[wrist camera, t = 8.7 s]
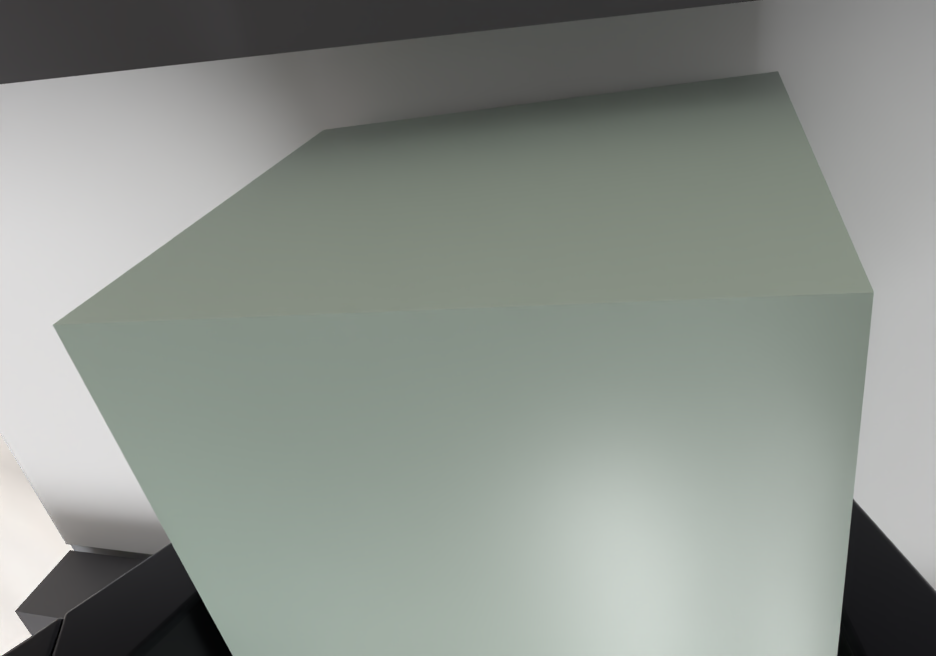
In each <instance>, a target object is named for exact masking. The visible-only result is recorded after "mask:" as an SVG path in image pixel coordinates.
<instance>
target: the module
mask: <svg viewBox="0 0 936 656" xmlns="http://www.w3.org/2000/svg"><path fill="white" fill-rule="evenodd" d="M873 297H874V291H873V289H872V287H871V284H870V282H869V280H868V278H867V275H866V273H865V271H864V268H863V266H862V264H861V261H860V259H859V257H858V254H857V252H856V250H855V248H854V245H853V243H852V241H851V238H850V236H849V234H848V231H847V229H846V227H845V224H844V222H843V220H842V218H841V215H840V213H839V211H838V208H837V206H836V204H835V201H834V199H833V197H832V195H831V192H830V190H829V188H828V185H827V183H826V181H825V178H824V176H823V174H822V171H821V169H820V167H819V165H818V162H817V160H816V158H815V155H814V153H813V151H812V148H811V146H810V144H809V142H808V139H807V137H806V135H805V132H804V130H803V128H802V125H801V123H800V121H799V118H798V116H797V114H796V112H795V109H794V107H793V105H792V102H791V100H790V98H789V95H788V93H787V91H786V88H785V86H784V84H783V82H782V79H781V77H780V75H779V72H778V71H776V72H768V73H761V74H753V75H745V76H737V77H729V78H722V79H714V80H706V81H698V82H691V83H683V84H675V85H667V86H659V87H652V88H644V89H636V90H628V91H621V92H613V93H605V94H597V95H589V96H582V97H574V98H566V99H558V100H551V101H543V102H535V103H527V104H519V105H512V106H504V107H496V108H488V109H481V110H473V111H465V112H457V113H449V114H442V115H434V116H426V117H418V118H411V119H403V120H395V121H387V122H379V123H372V124H364V125H356V126H348V127H341V128H333V129H325V130H323V131H321V132H320V133H319V134H317V135H316V136H314V137H313V138H312V139H310V140H309V141H307V142H306V143H305V144H303V145H302V146H300V147H299V148H298V149H296V150H295V151H294V152H292V153H291V154H289V155H288V156H287V157H285V158H284V159H282V160H281V161H280V162H278V163H277V164H275V165H274V166H273V167H271V168H270V169H268V170H267V171H266V172H264V173H263V174H262V175H260V176H259V177H257V178H256V179H255V180H253V181H252V182H250V183H249V184H248V185H246V186H245V187H243V188H242V189H241V190H239V191H238V192H237V193H235V194H234V195H232V196H231V197H230V198H228V199H227V200H225V201H224V202H223V203H221V204H220V205H218V206H217V207H216V208H214V209H213V210H212V211H210V212H209V213H207V214H206V215H205V216H203V217H202V218H200V219H199V220H198V221H196V222H195V223H193V224H192V225H191V226H189V227H188V228H186V229H185V230H184V231H182V232H181V233H180V234H178V235H177V236H175V237H174V238H173V239H171V240H170V241H168V242H167V243H166V244H164V245H163V246H161V247H160V248H159V249H157V250H156V251H155V252H153V253H152V254H150V255H149V256H148V257H146V258H145V259H143V260H142V261H141V262H139V263H138V264H136V265H135V266H134V267H132V268H131V269H130V270H128V271H127V272H125V273H124V274H123V275H121V276H120V277H118V278H117V279H116V280H114V281H113V282H111V283H110V284H109V285H107V286H106V287H105V288H103V289H102V290H100V291H99V292H98V293H96V294H95V295H93V296H92V297H91V298H89V299H88V300H86V301H85V302H84V303H82V304H81V305H79V306H78V307H77V308H75V309H74V310H73V311H71V312H70V313H68V314H67V315H66V316H64V317H63V318H61V319H60V320H59V321H57V322H56V323H54V324H53V327H54V328H55V330H56V332H57V334H58V336H59V338H60V339H61V341H62V343H63V345H64V347H65V349H66V350H67V352H68V354H69V356H70V358H71V360H72V361H73V363H74V365H75V367H76V369H77V371H78V373H79V374H80V376H81V378H82V380H83V382H84V384H85V385H86V387H87V389H88V391H89V393H90V395H91V396H92V398H93V400H94V402H95V404H96V406H97V407H98V409H99V411H100V413H101V415H102V417H103V418H104V420H105V422H106V424H107V426H108V428H109V429H110V431H111V433H112V435H113V437H114V439H115V440H116V442H117V444H118V446H119V448H120V450H121V451H122V453H123V455H124V457H125V459H126V461H127V463H128V464H129V466H130V468H131V470H132V472H133V474H134V475H135V477H136V479H137V481H138V483H139V485H140V486H141V488H142V490H143V492H144V494H145V496H146V497H147V499H148V501H149V503H150V505H151V507H152V508H153V510H154V512H155V514H156V516H157V518H158V519H159V521H160V523H161V525H162V527H163V529H164V530H165V532H166V534H167V536H168V538H169V540H170V542H171V543H172V545H173V547H174V549H175V551H176V553H177V554H178V556H179V558H180V560H181V562H182V564H183V565H184V567H185V569H186V571H187V573H188V575H189V576H190V578H191V580H192V582H193V584H194V586H195V587H196V589H197V591H198V593H199V595H200V597H201V598H202V600H203V602H204V604H205V606H206V608H207V609H208V611H209V613H210V615H211V617H212V619H213V620H214V622H215V624H216V626H217V628H218V630H219V632H220V633H221V635H222V637H223V639H224V641H225V643H226V644H227V646H228V648H229V650H230V652H231V654H232V655H233V656H837V652H838V642H839V633H840V623H841V613H842V603H843V593H844V583H845V573H846V563H847V554H848V544H849V534H850V524H851V514H852V504H853V494H854V484H855V474H856V465H857V455H858V445H859V435H860V425H861V415H862V405H863V395H864V386H865V376H866V366H867V356H868V346H869V336H870V326H871V316H872V306H873Z"/></svg>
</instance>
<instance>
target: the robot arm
mask: <svg viewBox="0 0 936 656" xmlns="http://www.w3.org/2000/svg"><path fill="white" fill-rule="evenodd" d="M2 656H233V655H232V654H231V652H230V650H229V648H228V646H227V644H226V643H225V641H224V639H223V637H222V635H221V633H220V632H219V630H218V628H217V626H216V624H215V622H214V620H213V619H212V617H211V615H210V613H209V611H208V609H207V608H206V606H205V604H204V602H203V600H202V598H201V597H200V595H199V593H198V591H197V589H196V587H195V586H194V584H193V582H192V580H191V578H190V576H189V575H188V573H187V571H186V569H185V567H184V565H183V564H182V562H181V560H180V558H179V556H178V554H177V553H176V551H175V549H174V547H173V545H172V543H170V544H168V545H167V546H165V547H164V548H162V549H161V550H159V551H158V552H156V553H155V554H153V555H152V556H150V557H149V558H147V559H146V560H144V561H143V562H141V563H140V564H138V565H137V566H135V567H134V568H132V569H131V570H129V571H128V572H126V573H125V574H123V575H122V576H121V577H119V578H118V579H116V580H115V581H113V582H112V583H110V584H109V585H107V586H106V587H104V588H103V589H101V590H100V591H98V592H97V593H95V594H94V595H92V596H91V597H89V598H88V599H86V600H85V601H83V602H82V603H80V604H79V605H77V606H76V607H74V608H73V609H71V610H70V611H68V612H67V613H66V614H65V617H64V618H58V619H56V620H55V621H53V622H52V623H50V624H49V625H47V626H46V627H44V628H43V629H41V630H40V631H38V632H37V633H36V634H34V635H33V636H31V637H30V638H28V639H27V640H25V641H24V642H22V643H20V644H19V645H17V646H16V647H14V648H13V649H11V650H10V651H8V652H7V653H5V654H4V655H2ZM837 656H936V591H935V590H934V588H933V587H932V586H931V585H930V584H929V583H928V582H927V581H926V579H925V578H924V577H923V576H922V575H921V574H920V573H919V572H918V571H917V569H916V568H915V567H914V566H913V565H912V564H911V563H910V562H909V560H908V559H907V558H906V557H905V556H904V555H903V554H902V553H901V551H900V550H899V549H898V548H897V547H896V546H895V545H894V544H893V543H892V541H891V540H890V539H889V538H888V537H887V536H886V535H885V534H884V532H883V531H882V530H881V529H880V528H879V527H878V526H877V525H876V524H875V522H874V521H873V520H872V519H871V518H870V517H869V516H868V515H867V513H866V512H865V511H864V510H863V509H862V508H861V507H860V506H859V505H858V503H857V502H856V501H855V500H854V499H853V504H852V514H851V524H850V534H849V544H848V554H847V563H846V573H845V583H844V593H843V603H842V613H841V623H840V633H839V642H838V652H837Z"/></svg>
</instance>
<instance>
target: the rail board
mask: <svg viewBox="0 0 936 656" xmlns="http://www.w3.org/2000/svg"><path fill="white" fill-rule="evenodd" d="M776 71H778V72H779V75H780V77H781V79H782V82H783V84H784V86H785V88H786V91H787V93H788V95H789V98H790V100H791V102H792V105H793V107H794V109H795V112H796V114H797V116H798V118H799V121H800V123H801V125H802V128H803V130H804V132H805V135H806V137H807V139H808V142H809V144H810V146H811V148H812V151H813V153H814V155H815V158H816V160H817V162H818V165H819V167H820V169H821V171H822V174H823V176H824V178H825V181H826V183H827V185H828V188H829V190H830V192H831V195H832V197H833V199H834V201H835V204H836V206H837V208H838V211H839V213H840V215H841V218H842V220H843V222H844V224H845V227H846V229H847V231H848V234H849V236H850V238H851V241H852V243H853V245H854V248H855V250H856V252H857V254H858V257H859V259H860V261H861V264H862V266H863V268H864V271H865V273H866V275H867V278H868V280H869V282H870V284H871V287H872V289H873V291H874V297H873V306H872V316H871V326H870V336H869V346H868V356H867V366H866V376H865V386H864V395H863V405H862V415H861V425H860V435H859V445H858V455H857V465H856V474H855V484H854V494H853V499H854V500H855V501H856V502H857V503H858V505H859V506H860V507H861V508H862V509H863V510H864V511H865V512H866V513H867V515H868V516H869V517H870V518H871V519H872V520H873V521H874V522H875V524H876V525H877V526H878V527H879V528H880V529H881V530H882V531H883V532H884V534H885V535H886V536H887V537H888V538H889V539H890V540H891V541H892V543H893V544H894V545H895V546H896V547H897V548H898V549H899V550H900V551H901V553H902V554H903V555H904V556H905V557H906V558H907V559H908V560H909V562H910V563H911V564H912V565H913V566H914V567H915V568H916V569H917V571H918V572H919V573H920V574H921V575H922V576H923V577H924V578H925V579H926V581H927V582H928V583H929V584H930V585H931V586H932V587H933V588H934V590H935V591H936V0H0V434H1V436H2V438H3V439H4V441H5V443H6V444H7V446H8V448H9V449H10V451H11V453H12V454H13V456H14V458H15V459H16V461H17V463H18V464H19V466H20V468H21V469H22V471H23V473H24V474H25V476H26V478H27V479H28V481H29V483H30V484H31V486H32V488H33V489H34V491H35V493H36V494H37V496H38V498H39V499H40V501H41V503H42V504H43V506H44V508H45V509H46V511H47V513H48V514H49V516H50V518H51V519H52V521H53V523H54V524H55V526H56V528H57V529H58V531H59V533H60V534H61V536H62V538H63V539H64V541H65V543H66V544H70V545H71V546H72V548H73V549H74V551H71V550H70V551H69V552H68V553H67V554H66V556H65V557H64V558H63V559H62V560H61V561H60V562H59V563H58V564H57V565H56V567H55V568H54V569H53V570H52V571H51V572H50V573H49V574H48V575H47V577H46V578H45V579H44V580H43V581H42V582H41V583H40V584H39V585H38V587H37V588H36V589H35V590H34V591H33V592H32V593H31V594H30V595H29V596H28V598H27V599H26V600H25V601H24V602H23V603H22V604H21V605H20V606H19V608H18V609H17V610H16V611H15V612H16V613H17V615H18V616H19V618H20V619H21V620H22V622H23V623H24V625H25V626H26V628H27V629H28V631H29V632H30V633H31V635H32V636H33V635H34V634H36V633H37V632H38V631H40V630H41V629H43V628H44V627H46V626H47V625H49V624H50V623H52V622H53V621H55V620H56V619H58V618H64V617H65V614H66V613H67V612H68V611H70V610H71V609H73V608H74V607H76V606H77V605H79V604H80V603H82V602H83V601H85V600H86V599H88V598H89V597H91V596H92V595H94V594H95V593H97V592H98V591H100V590H101V589H103V588H104V587H106V586H107V585H109V584H110V583H112V582H113V581H115V580H116V579H118V578H119V577H121V576H122V575H123V574H125V573H126V572H128V571H129V570H131V569H132V568H134V567H135V566H137V565H138V564H140V563H141V562H143V561H144V560H146V559H147V558H149V557H150V556H152V555H153V554H155V553H156V552H158V551H159V550H161V549H162V548H164V547H165V546H167V545H168V544H170V543H171V542H170V540H169V538H168V536H167V534H166V532H165V530H164V529H163V527H162V525H161V523H160V521H159V519H158V518H157V516H156V514H155V512H154V510H153V508H152V507H151V505H150V503H149V501H148V499H147V497H146V496H145V494H144V492H143V490H142V488H141V486H140V485H139V483H138V481H137V479H136V477H135V475H134V474H133V472H132V470H131V468H130V466H129V464H128V463H127V461H126V459H125V457H124V455H123V453H122V451H121V450H120V448H119V446H118V444H117V442H116V440H115V439H114V437H113V435H112V433H111V431H110V429H109V428H108V426H107V424H106V422H105V420H104V418H103V417H102V415H101V413H100V411H99V409H98V407H97V406H96V404H95V402H94V400H93V398H92V396H91V395H90V393H89V391H88V389H87V387H86V385H85V384H84V382H83V380H82V378H81V376H80V374H79V373H78V371H77V369H76V367H75V365H74V363H73V361H72V360H71V358H70V356H69V354H68V352H67V350H66V349H65V347H64V345H63V343H62V341H61V339H60V338H59V336H58V334H57V332H56V330H55V328H54V327H53V324H54V323H56V322H57V321H59V320H60V319H61V318H63V317H64V316H66V315H67V314H68V313H70V312H71V311H73V310H74V309H75V308H77V307H78V306H79V305H81V304H82V303H84V302H85V301H86V300H88V299H89V298H91V297H92V296H93V295H95V294H96V293H98V292H99V291H100V290H102V289H103V288H105V287H106V286H107V285H109V284H110V283H111V282H113V281H114V280H116V279H117V278H118V277H120V276H121V275H123V274H124V273H125V272H127V271H128V270H130V269H131V268H132V267H134V266H135V265H136V264H138V263H139V262H141V261H142V260H143V259H145V258H146V257H148V256H149V255H150V254H152V253H153V252H155V251H156V250H157V249H159V248H160V247H161V246H163V245H164V244H166V243H167V242H168V241H170V240H171V239H173V238H174V237H175V236H177V235H178V234H180V233H181V232H182V231H184V230H185V229H186V228H188V227H189V226H191V225H192V224H193V223H195V222H196V221H198V220H199V219H200V218H202V217H203V216H205V215H206V214H207V213H209V212H210V211H212V210H213V209H214V208H216V207H217V206H218V205H220V204H221V203H223V202H224V201H225V200H227V199H228V198H230V197H231V196H232V195H234V194H235V193H237V192H238V191H239V190H241V189H242V188H243V187H245V186H246V185H248V184H249V183H250V182H252V181H253V180H255V179H256V178H257V177H259V176H260V175H262V174H263V173H264V172H266V171H267V170H268V169H270V168H271V167H273V166H274V165H275V164H277V163H278V162H280V161H281V160H282V159H284V158H285V157H287V156H288V155H289V154H291V153H292V152H294V151H295V150H296V149H298V148H299V147H300V146H302V145H303V144H305V143H306V142H307V141H309V140H310V139H312V138H313V137H314V136H316V135H317V134H319V133H320V132H321V131H323V130H325V129H333V128H341V127H348V126H356V125H364V124H372V123H379V122H387V121H395V120H403V119H411V118H418V117H426V116H434V115H442V114H449V113H457V112H465V111H473V110H481V109H488V108H496V107H504V106H512V105H519V104H527V103H535V102H543V101H551V100H558V99H566V98H574V97H582V96H589V95H597V94H605V93H613V92H621V91H628V90H636V89H644V88H652V87H659V86H667V85H675V84H683V83H691V82H698V81H706V80H714V79H722V78H729V77H737V76H745V75H753V74H761V73H768V72H776Z"/></svg>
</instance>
